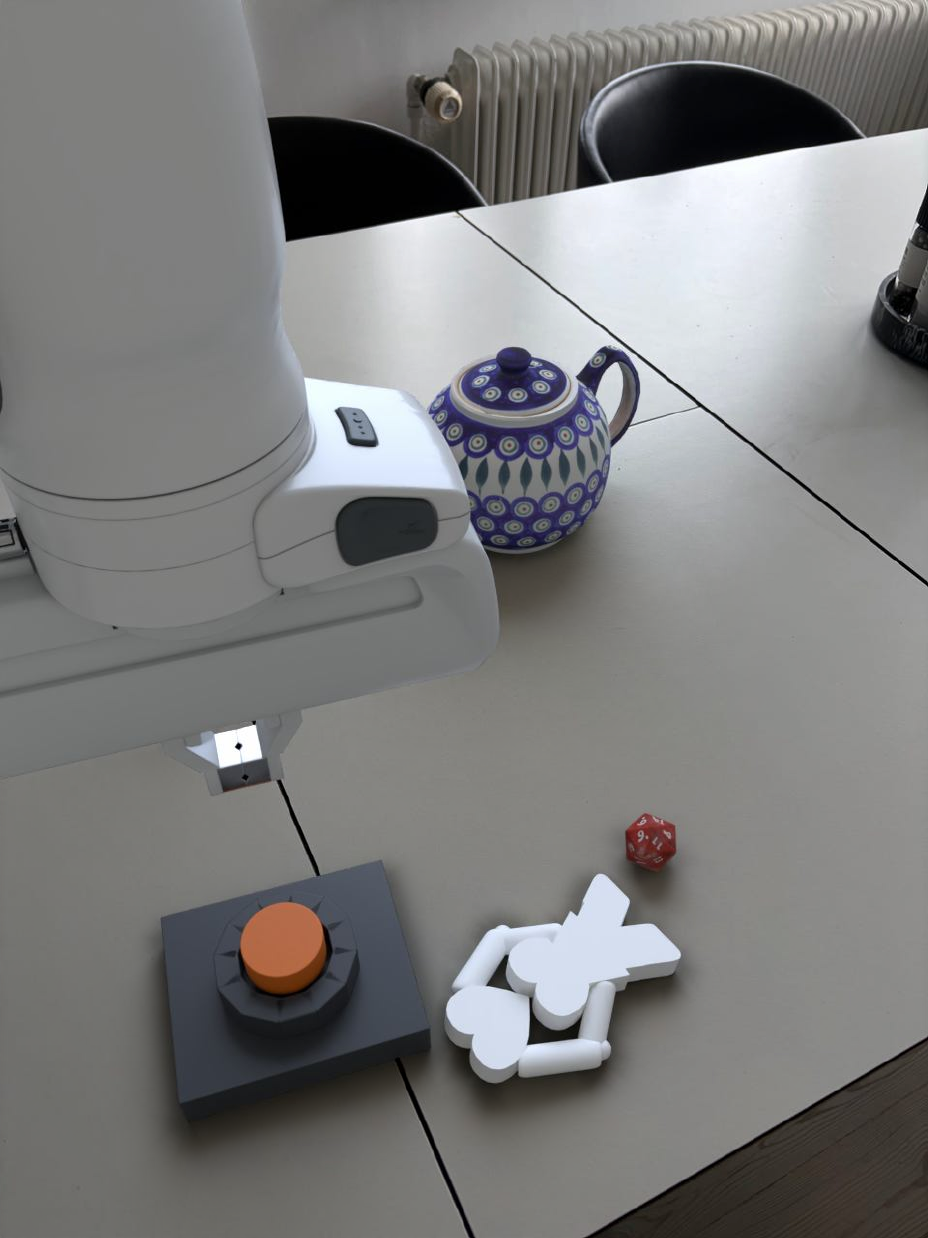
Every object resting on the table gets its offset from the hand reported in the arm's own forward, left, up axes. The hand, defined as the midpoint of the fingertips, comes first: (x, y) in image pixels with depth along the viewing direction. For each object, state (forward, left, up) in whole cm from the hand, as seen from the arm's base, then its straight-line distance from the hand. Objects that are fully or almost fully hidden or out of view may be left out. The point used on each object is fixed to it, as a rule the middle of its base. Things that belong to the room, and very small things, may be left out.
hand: (245, 775), depth 40 cm
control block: (0, 0, -18) cm, 18 cm away
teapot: (+24, +35, -18) cm, 46 cm away
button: (0, 0, -14) cm, 15 cm away
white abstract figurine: (+13, -4, -18) cm, 23 cm away
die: (+21, +2, -18) cm, 28 cm away
